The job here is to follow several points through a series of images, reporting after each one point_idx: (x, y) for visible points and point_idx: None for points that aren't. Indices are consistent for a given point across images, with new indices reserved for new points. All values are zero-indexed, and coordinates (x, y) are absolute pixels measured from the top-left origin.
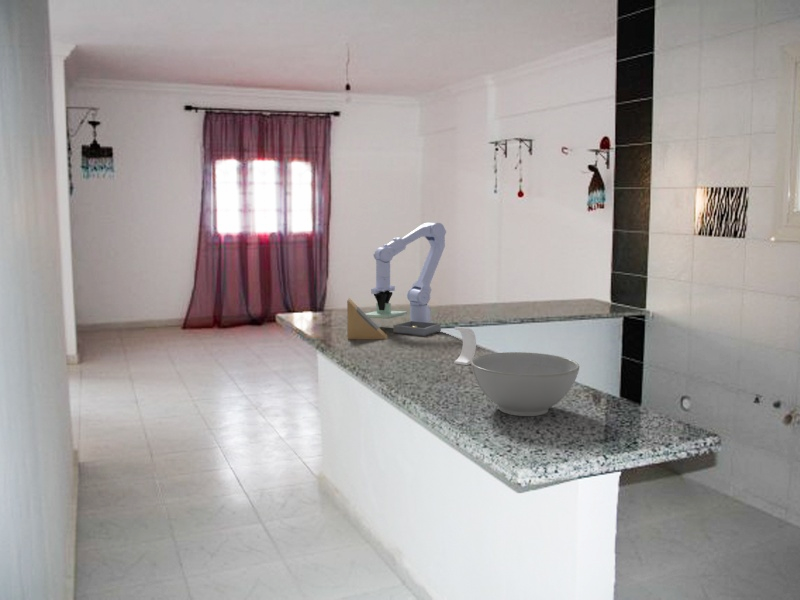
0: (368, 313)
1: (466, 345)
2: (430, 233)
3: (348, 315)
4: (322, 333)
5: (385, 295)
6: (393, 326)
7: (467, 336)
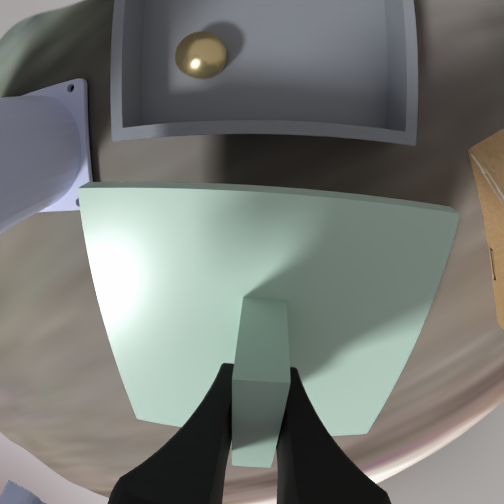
0: None
1: None
2: None
3: None
4: (468, 404)
5: (348, 500)
6: (412, 145)
7: None
